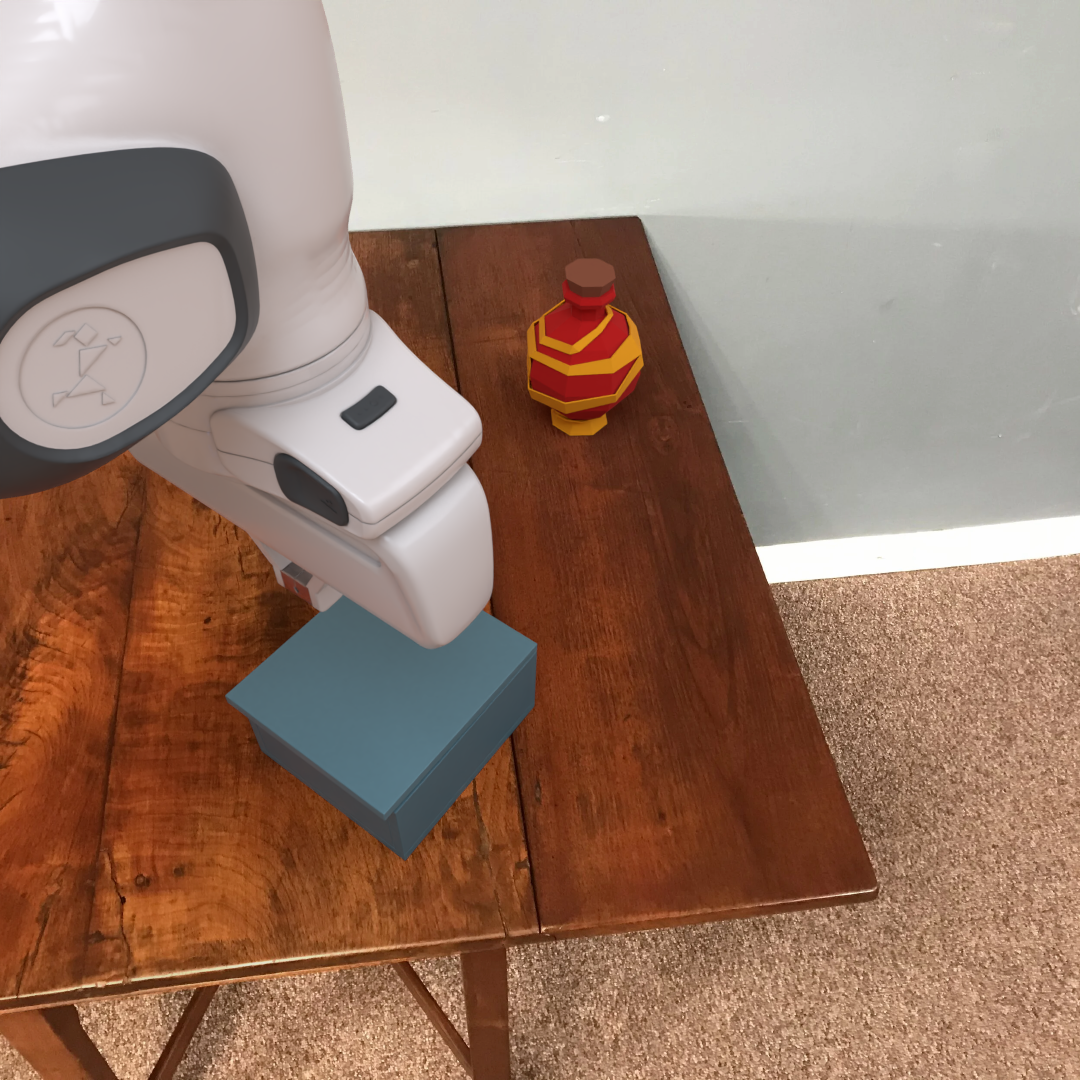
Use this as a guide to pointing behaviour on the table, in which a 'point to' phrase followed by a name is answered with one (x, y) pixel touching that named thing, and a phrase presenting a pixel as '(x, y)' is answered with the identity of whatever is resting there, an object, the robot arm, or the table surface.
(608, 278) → the potion bottle
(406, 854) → the chest
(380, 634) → the lid
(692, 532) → the table surface
